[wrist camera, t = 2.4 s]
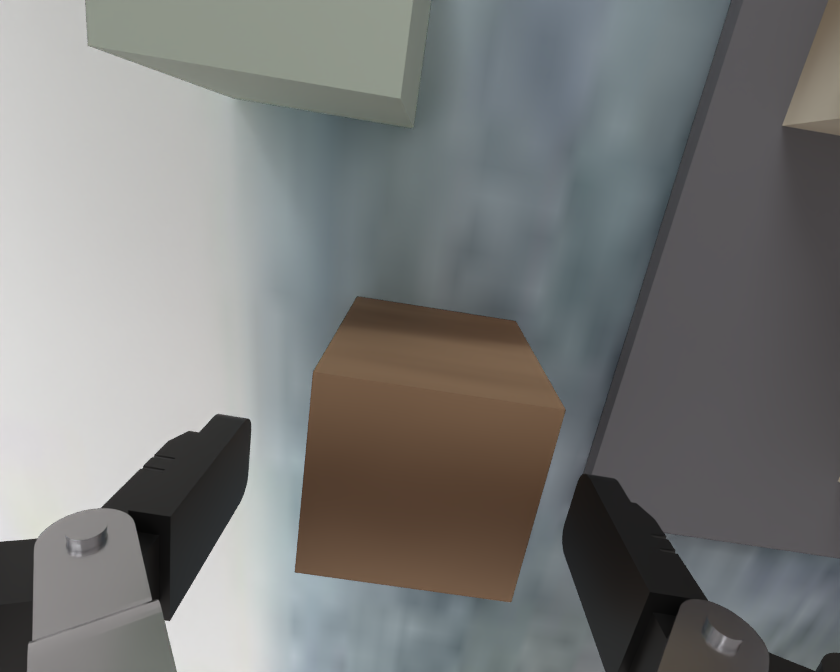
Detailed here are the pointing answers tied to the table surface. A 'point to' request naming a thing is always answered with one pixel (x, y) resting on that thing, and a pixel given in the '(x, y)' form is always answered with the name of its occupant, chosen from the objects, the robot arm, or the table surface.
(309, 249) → the table surface
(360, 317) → the walnut block
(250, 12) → the sage block
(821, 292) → the charcoal mat
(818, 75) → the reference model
